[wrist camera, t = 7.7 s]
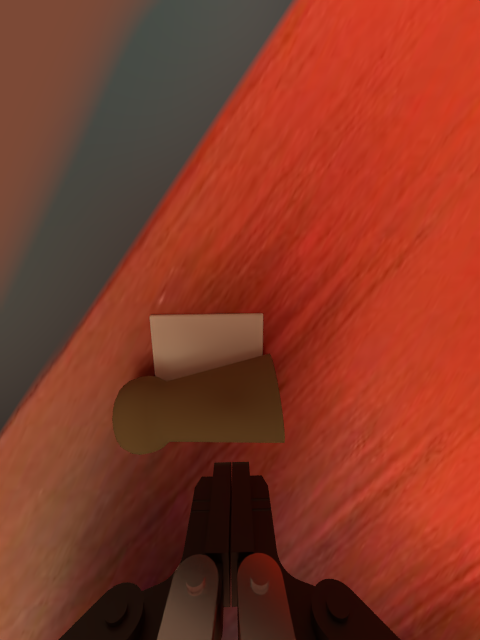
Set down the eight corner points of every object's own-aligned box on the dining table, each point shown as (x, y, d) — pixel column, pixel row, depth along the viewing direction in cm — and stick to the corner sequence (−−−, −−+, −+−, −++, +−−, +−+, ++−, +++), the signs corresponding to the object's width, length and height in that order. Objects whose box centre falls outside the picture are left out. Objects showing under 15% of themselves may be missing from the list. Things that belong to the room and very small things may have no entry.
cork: (281, 447, 20) (136, 466, 20) (268, 370, 23) (142, 387, 23) (287, 436, 14) (90, 462, 15) (269, 338, 18) (106, 361, 18)
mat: (262, 313, 20) (263, 314, 20) (261, 426, 23) (261, 429, 22) (151, 314, 20) (149, 315, 20) (161, 429, 22) (160, 432, 22)
